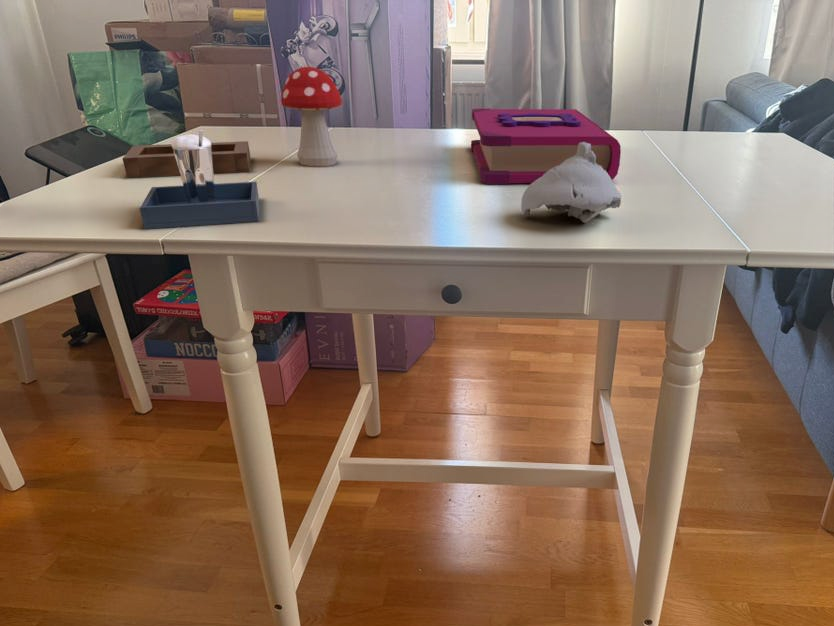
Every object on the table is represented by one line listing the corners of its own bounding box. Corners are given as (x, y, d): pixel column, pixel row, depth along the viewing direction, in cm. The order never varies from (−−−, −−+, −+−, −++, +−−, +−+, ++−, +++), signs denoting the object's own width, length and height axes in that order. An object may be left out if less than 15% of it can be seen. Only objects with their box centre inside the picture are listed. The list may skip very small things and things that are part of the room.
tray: (144, 229, 81) (139, 207, 80) (156, 206, 90) (151, 187, 88) (258, 221, 84) (255, 200, 83) (259, 200, 93) (256, 181, 91)
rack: (126, 178, 103) (122, 158, 102) (137, 164, 112) (133, 145, 110) (249, 172, 107) (246, 152, 106) (250, 159, 116) (247, 141, 114)
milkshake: (198, 216, 83) (182, 133, 79) (178, 208, 87) (161, 127, 82) (232, 209, 86) (218, 128, 82) (211, 201, 90) (196, 123, 85)
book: (581, 147, 128) (584, 105, 124) (617, 183, 103) (623, 131, 99) (470, 148, 126) (470, 105, 123) (481, 184, 102) (481, 132, 98)
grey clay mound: (563, 222, 94) (584, 144, 91) (629, 243, 86) (655, 159, 83) (501, 211, 86) (522, 126, 83) (568, 234, 78) (594, 141, 75)
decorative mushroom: (356, 160, 116) (348, 65, 109) (333, 170, 109) (323, 70, 102) (304, 156, 118) (293, 63, 111) (278, 166, 111) (265, 68, 104)
